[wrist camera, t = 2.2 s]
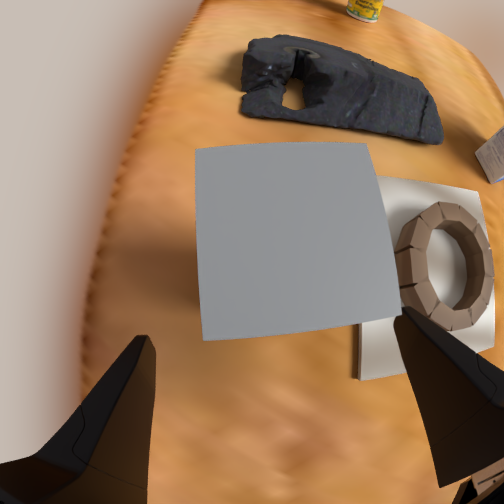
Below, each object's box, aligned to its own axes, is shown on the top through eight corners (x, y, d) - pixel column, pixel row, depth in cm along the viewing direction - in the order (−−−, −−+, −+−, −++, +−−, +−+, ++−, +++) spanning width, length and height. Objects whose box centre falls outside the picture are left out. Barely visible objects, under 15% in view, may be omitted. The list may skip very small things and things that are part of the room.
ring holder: (490, 346, 18) (510, 347, 15) (357, 379, 17) (374, 388, 14) (474, 193, 21) (491, 182, 18) (346, 176, 21) (359, 157, 18)
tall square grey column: (294, 314, 19) (401, 314, 5) (236, 319, 18) (202, 341, 5) (288, 258, 19) (366, 143, 6) (232, 262, 19) (195, 149, 6)
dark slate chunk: (441, 176, 22) (468, 154, 17) (227, 119, 23) (223, 83, 18) (420, 82, 25) (435, 60, 21) (257, 37, 26) (258, 8, 21)
